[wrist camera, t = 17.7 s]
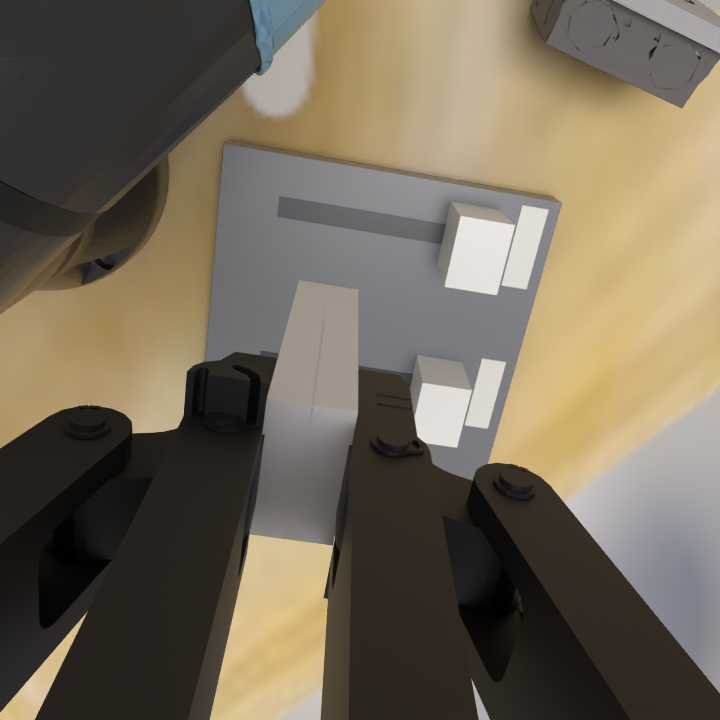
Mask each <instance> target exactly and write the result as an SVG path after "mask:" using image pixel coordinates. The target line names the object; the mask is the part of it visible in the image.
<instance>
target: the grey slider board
mask: <svg viewBox="0 0 720 720" xmlns="http://www.w3.org/2000/svg"><path fill="white" fill-rule="evenodd" d="M561 205H562V203H561V202H560V201H558V200H557V199H555V198H554V197H550V196H545V195H539V194H533V193H528V192H522V191H516V190H511V189H505V188H499V187H493V186H488V185H482V184H476V183H471V182H465V181H459V180H453V179H448V178H442V177H436V176H431V175H425V174H419V173H413V172H408V171H402V170H396V169H391V168H385V167H379V166H373V165H368V164H362V163H356V162H351V161H345V160H339V159H333V158H328V157H322V156H316V155H311V154H305V153H299V152H293V151H288V150H282V149H276V148H271V147H265V146H259V145H253V144H248V143H242V142H236V141H231V140H230V141H228V142H226V143H225V144H224V149H223V161H222V172H221V184H220V195H219V207H218V218H217V230H216V242H215V253H214V265H213V276H212V288H211V299H210V311H209V322H208V334H207V345H206V357H205V362H207V361H216V360H222V359H223V358H225V357H227V356H229V355H230V354H232V353H234V352H242V353H248V354H255V355H261V356H267V357H274V358H278V356H279V352H280V349H281V345H282V341H283V338H284V334H285V330H286V327H287V323H288V319H289V316H290V312H291V308H292V305H293V301H294V298H295V294H296V290H297V287H298V283H299V280H302V281H308V282H314V283H320V284H326V285H333V286H339V287H345V288H351V289H357V290H358V369H363V370H370V371H376V372H383V373H389V374H396V375H399V376H400V377H401V378H402V379H403V380H404V381H405V382H406V383H407V385H408V386H409V387H410V392H411V401H412V405H413V411H414V418H415V424H416V430H417V437H419V438H420V439H421V440H422V441H423V442H425V443H426V444H427V446H428V448H429V450H430V452H431V458H432V463H433V464H434V465H435V466H437V467H439V468H441V469H442V470H444V471H447V472H449V473H452V474H454V475H457V476H460V477H463V478H466V479H469V480H472V481H473V478H474V475H475V473H476V470H477V469H478V468H480V467H482V466H483V465H485V464H488V461H489V457H490V454H491V450H492V447H493V443H494V440H495V436H496V433H497V429H498V426H499V422H500V419H501V415H502V412H503V408H504V405H505V401H506V398H507V394H508V391H509V387H510V384H511V380H512V377H513V373H514V370H515V366H516V363H517V359H518V356H519V352H520V349H521V345H522V342H523V338H524V335H525V331H526V328H527V324H528V321H529V317H530V314H531V310H532V307H533V303H534V300H535V296H536V293H537V289H538V286H539V282H540V279H541V275H542V272H543V268H544V264H545V261H546V257H547V254H548V250H549V247H550V243H551V240H552V236H553V233H554V229H555V226H556V222H557V219H558V215H559V212H560V208H561Z"/></svg>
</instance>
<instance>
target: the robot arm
mask: <svg viewBox="0 0 720 720" xmlns="http://www.w3.org/2000/svg"><path fill="white" fill-rule="evenodd" d="M324 1H325V0H0V314H1V313H3V312H4V311H5V310H7V309H8V308H10V307H11V306H13V305H14V304H16V303H17V302H18V301H20V300H21V299H23V298H24V297H26V296H27V295H29V294H30V293H31V292H33V291H34V290H64V289H71V288H76V287H80V286H83V285H86V284H89V283H92V282H95V281H97V280H100V279H102V278H104V277H106V276H107V275H109V274H111V273H112V272H114V271H116V270H117V269H118V268H120V267H121V266H122V265H123V264H125V263H126V262H127V261H128V260H129V259H131V258H132V257H133V256H134V255H135V254H136V253H137V252H138V251H139V250H140V249H141V248H142V247H143V246H144V245H145V243H146V242H147V241H148V240H149V238H150V237H151V235H152V233H153V232H154V230H155V228H156V226H157V224H158V222H159V220H160V218H161V215H162V212H163V209H164V205H165V201H166V196H167V190H168V159H167V154H168V153H169V152H171V151H172V150H173V149H174V148H175V147H176V146H177V145H178V144H179V143H180V142H181V141H182V140H183V139H184V138H185V137H186V136H188V135H189V134H190V133H191V132H192V131H193V130H194V129H195V128H196V127H197V126H198V125H199V124H200V123H201V122H202V121H204V120H205V119H206V118H207V117H208V116H209V115H210V114H211V113H212V112H213V111H214V110H215V109H216V108H217V107H218V106H220V105H221V104H222V103H223V102H224V101H225V100H226V99H227V98H228V97H229V96H230V95H231V94H232V93H233V92H234V91H235V90H237V89H238V88H239V87H240V86H241V85H242V84H243V83H244V82H245V81H246V80H247V79H248V78H249V77H250V76H251V75H253V73H256V74H257V75H259V76H260V75H262V74H264V73H265V72H266V71H267V70H268V68H269V67H270V66H271V63H272V60H273V56H274V54H275V53H276V52H277V51H278V50H279V49H280V48H281V47H282V46H283V45H284V44H285V43H286V42H287V41H288V40H289V39H290V38H291V37H292V36H293V34H295V32H296V31H297V30H298V29H299V28H300V27H301V26H302V25H303V24H304V23H305V22H306V21H307V20H308V19H309V18H310V17H311V16H312V15H313V14H314V13H315V12H316V11H317V10H318V9H319V8H320V6H321V5H322V4H323V2H324ZM249 532H250V533H249ZM249 534H253V535H260V536H268V537H275V538H283V539H290V540H297V541H305V542H312V543H319V544H327V545H333V542H334V547H333V552H332V557H331V562H330V568H329V573H328V578H327V583H326V588H325V594H324V598H327V599H328V608H327V625H326V641H325V658H324V674H323V690H322V707H321V720H479V719H478V715H477V708H476V703H475V698H474V692H473V687H472V681H471V678H472V680H473V683H474V685H475V687H476V689H477V692H478V694H479V696H480V698H481V700H482V703H483V705H484V707H485V709H486V711H487V714H488V716H489V718H490V720H720V693H719V692H718V691H717V690H716V688H715V687H714V686H713V685H712V683H711V682H710V681H709V680H708V679H707V677H706V676H705V675H704V674H703V672H702V671H701V670H700V669H699V668H698V666H697V665H696V664H695V663H694V661H693V660H692V659H691V658H690V656H689V655H688V654H687V653H686V652H685V650H684V649H683V648H682V647H681V646H680V644H679V643H678V642H677V641H676V639H675V638H674V637H673V636H672V634H671V633H670V632H669V631H668V630H667V628H666V627H665V626H664V625H663V623H662V622H661V621H660V620H659V619H658V617H657V616H656V615H655V614H654V612H653V611H652V610H651V609H650V607H649V606H648V605H647V604H646V603H645V601H644V600H643V599H642V598H641V596H640V595H639V594H638V593H637V592H636V590H635V589H634V588H633V587H632V585H631V584H630V583H629V582H628V581H627V579H626V578H625V577H624V576H623V574H622V573H621V572H620V571H619V570H618V568H617V567H616V566H615V565H614V563H613V562H612V561H611V560H610V558H609V557H608V556H607V555H606V554H605V552H604V551H603V550H602V549H601V547H600V546H599V545H598V544H597V543H596V541H595V540H594V539H593V538H592V537H591V535H590V534H589V533H588V532H587V530H586V529H585V528H584V527H583V525H582V524H581V523H580V522H579V521H578V519H577V518H576V517H575V516H574V514H573V513H572V512H571V511H570V509H569V508H568V507H567V506H566V505H565V503H564V502H563V501H562V500H561V498H560V497H559V496H558V495H557V494H556V492H555V491H554V490H553V489H552V487H551V486H550V485H549V484H548V483H547V482H545V481H544V480H543V479H542V478H541V477H539V476H538V475H536V474H534V473H532V472H530V471H529V470H528V469H526V468H523V467H518V466H517V465H513V464H502V463H493V464H485V465H483V466H482V467H480V468H478V469H477V470H476V473H475V475H474V478H473V481H472V480H469V479H466V478H463V477H460V476H457V475H454V474H452V473H449V472H447V471H444V470H442V469H441V468H439V467H437V466H435V465H434V464H433V463H432V458H431V452H430V450H429V448H428V446H427V444H426V443H425V442H423V441H422V440H421V439H420V438H419V437H417V430H416V424H415V418H414V411H413V405H412V401H411V392H410V387H409V386H408V385H407V383H406V382H405V381H404V380H403V379H402V378H401V377H400V376H399V375H396V374H389V373H383V372H376V371H370V370H363V369H358V290H357V289H351V288H345V287H339V286H333V285H326V284H320V283H314V282H308V281H302V280H299V283H298V287H297V290H296V294H295V298H294V301H293V305H292V308H291V312H290V316H289V319H288V323H287V327H286V330H285V334H284V338H283V341H282V345H281V349H280V352H279V356H278V358H274V357H267V356H261V355H255V354H248V353H242V352H234V353H232V354H230V355H229V356H227V357H225V358H223V359H222V360H216V361H207V362H203V363H200V364H197V365H194V366H193V367H192V368H190V369H189V370H188V371H187V379H186V392H185V406H184V417H183V419H182V421H181V423H180V425H179V427H178V428H177V429H174V430H169V431H165V432H156V433H134V434H132V422H131V420H130V419H129V418H128V417H127V416H126V415H125V414H123V413H121V412H118V411H116V410H114V409H110V408H104V407H100V406H92V405H90V406H88V405H86V406H78V407H74V408H69V409H64V410H61V411H59V412H57V413H55V414H53V415H50V416H49V417H47V418H46V419H44V420H43V421H41V422H40V423H38V424H37V425H35V426H34V427H32V428H31V429H29V430H28V431H26V432H25V433H23V434H22V435H20V436H19V437H17V438H16V439H14V440H13V441H11V442H10V443H8V444H7V445H5V446H4V447H2V448H0V712H1V711H2V710H3V709H4V708H5V706H6V705H7V704H8V703H9V702H10V701H11V699H12V698H13V697H14V696H15V695H16V694H17V692H18V691H19V690H20V689H21V688H22V687H23V686H24V684H25V683H26V682H27V681H28V680H29V679H30V677H31V676H32V675H33V674H34V673H35V672H36V670H37V669H38V668H39V667H40V666H41V665H42V664H43V662H44V661H45V660H46V659H47V658H48V657H49V655H50V654H51V653H52V652H53V651H54V650H55V648H56V647H57V646H58V645H59V644H60V643H61V642H62V640H63V639H64V638H65V637H66V636H67V635H68V633H69V632H70V631H71V630H72V629H73V628H74V626H75V625H76V624H77V623H78V622H79V621H80V620H81V618H82V617H83V616H84V615H85V614H86V613H87V614H86V617H85V619H84V621H83V623H82V625H81V627H80V629H79V631H78V633H77V635H76V637H75V639H74V641H73V643H72V645H71V647H70V649H69V651H68V653H67V655H66V657H65V659H64V661H63V663H62V665H61V668H60V670H59V672H58V674H57V676H56V678H55V680H54V682H53V684H52V686H51V688H50V690H49V692H48V694H47V696H46V698H45V700H44V702H43V704H42V706H41V708H40V710H39V712H38V714H37V716H36V719H35V720H210V715H211V711H212V706H213V702H214V697H215V693H216V688H217V684H218V679H219V675H220V671H221V666H222V662H223V657H224V653H225V648H226V644H227V639H228V635H229V630H230V626H231V621H232V617H233V613H234V608H235V604H236V599H237V595H238V590H239V586H240V581H241V577H242V572H243V568H244V563H245V559H246V555H247V548H248V540H249ZM334 536H335V541H334ZM87 611H88V612H87Z"/></svg>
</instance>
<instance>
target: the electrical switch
mask: <svg viewBox="0 0 720 720" xmlns="http://www.w3.org/2000/svg"><path fill="white" fill-rule="evenodd" d="M530 9H531V11H532V14H533V16H534V19H535V21H536V24H537V26H538V28H539V31H540V33H541V36H542V38H543V41H544V42H545V41H546V39H547V37H548V35H549V34H550V32H551V30H552V28H553V27H554V28H553V30H552V32H551V34H550V35H549V37H548V39H547V41H546V44H547V45H549V46H551V47H553V48H555V49H557V50H560V51H562V52H564V53H566V54H568V55H570V56H572V57H574V58H576V59H579V60H581V61H583V62H585V63H587V64H589V65H591V66H593V67H595V68H598V69H600V70H602V71H604V72H606V73H608V74H610V75H612V76H614V77H617V78H619V79H621V80H623V81H625V82H627V83H629V84H631V85H633V86H636V87H638V88H640V89H642V90H644V91H646V92H648V93H650V94H652V95H654V96H657V97H659V98H661V99H663V100H665V101H667V102H669V103H671V104H673V105H676V106H678V107H680V108H683V106H684V105H685V103H686V102H687V100H688V99H689V97H690V96H691V94H692V93H693V92H694V90H695V89H696V87H697V86H698V84H699V83H700V82H702V81H703V80H704V79H705V78H706V77H707V76H708V74H709V73H710V71H711V70H712V69H713V67H714V66H715V64H716V63H717V62H718V61H719V60H720V17H719V16H718V15H717V14H716V13H714V12H713V11H712V10H710V9H709V8H708V7H706V6H705V5H704V4H702V3H701V2H699V1H698V0H534V1H533V3H532V5H531V7H530ZM556 21H557V22H556ZM555 23H556V24H555ZM554 25H555V26H554ZM617 36H618V37H619V38H618V37H617ZM604 43H606V44H605V45H603V44H604ZM576 47H577V48H578V49H580V50H579V51H578V49H577V48H576ZM651 56H652V57H651ZM649 59H650V60H649ZM650 76H651V77H652V78H651V77H650ZM666 90H668V91H666Z"/></svg>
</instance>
